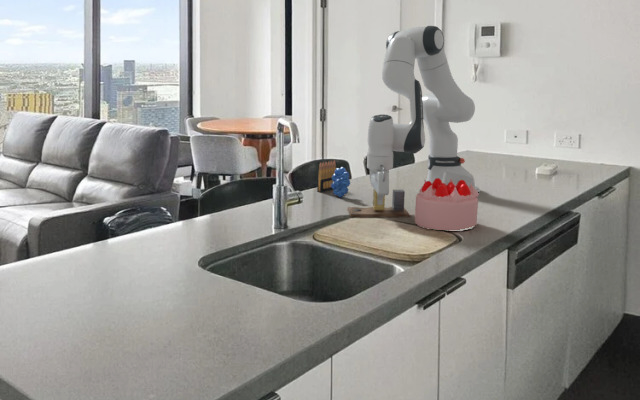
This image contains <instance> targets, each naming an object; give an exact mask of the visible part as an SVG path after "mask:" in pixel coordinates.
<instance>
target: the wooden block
mask: <svg viewBox="0 0 640 400" xmlns="http://www.w3.org/2000/svg"><path fill="white" fill-rule="evenodd" d="M372 194H373V195H372V207H373V209H374V210H384V207H386V206H385V201H386V195H384V198H383V204H382V205H378V204H377V196H378V195H377V192H376V191H375V189H374V188H373V193H372Z"/></svg>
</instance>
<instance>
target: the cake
mask: <svg viewBox="0 0 640 400" xmlns="http://www.w3.org/2000/svg"><path fill="white" fill-rule="evenodd" d="M426 180H427V179H424V183H423V185H422V186H421V188H420V189H419V192H418V193H417V194H416V195H415V207H414V208H415V210H414V211H415V212H414V214H415V215H414V222H415V225H416V224H417V225H416V226H418V227H419V226H420V228H422V227H424V228H423V229H425V228H429V229H436V230H448V231H449V230H460V229H465V228H469V227H472V226H475V225H476V226H477V222H478V208H479V206H478V204H479V198H478V197H479V196H480V192H479V193H478V191H477V190H476V189H475V188H474V187H473V186H472V183H471V185H470V187H468V185H467V184H466V182H465V181H464V180H460V181H459V182H458V183H457V185H455V184H454V183H453V181H452V179H450V182H449V183H448V184H447V186H446V184H445V183H442V181H441V179H439V178H436V179H435V180H434V181H433V183H431V182H430V181H426ZM429 229H428V230H429Z"/></svg>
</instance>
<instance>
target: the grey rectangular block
mask: <svg viewBox="0 0 640 400" xmlns="http://www.w3.org/2000/svg"><path fill="white" fill-rule="evenodd" d="M405 194H406V193H405V190H404V189H392V201H391V202H392V203H391V205H392V206H391V207H392V210H393V211H394V212H404V208H405Z"/></svg>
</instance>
